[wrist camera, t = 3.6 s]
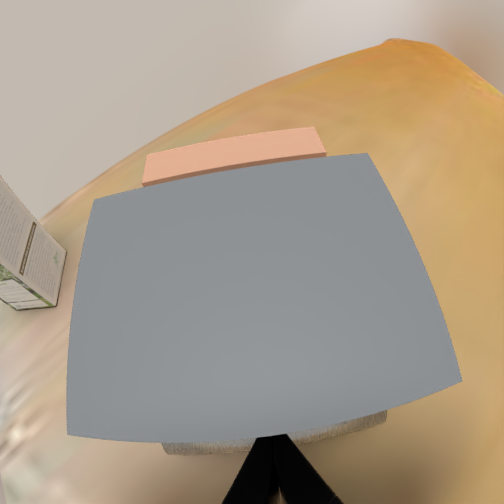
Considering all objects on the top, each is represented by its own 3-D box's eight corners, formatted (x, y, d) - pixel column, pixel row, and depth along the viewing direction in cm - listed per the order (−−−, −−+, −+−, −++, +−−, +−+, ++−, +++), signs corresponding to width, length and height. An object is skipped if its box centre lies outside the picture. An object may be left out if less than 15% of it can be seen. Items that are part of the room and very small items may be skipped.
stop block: (320, 211, 24) (326, 152, 18) (169, 236, 24) (142, 182, 19) (310, 184, 25) (313, 126, 20) (170, 207, 25) (147, 154, 20)
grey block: (370, 409, 13) (462, 381, 6) (176, 437, 13) (67, 434, 6) (337, 274, 17) (367, 153, 10) (168, 301, 18) (94, 199, 10)
